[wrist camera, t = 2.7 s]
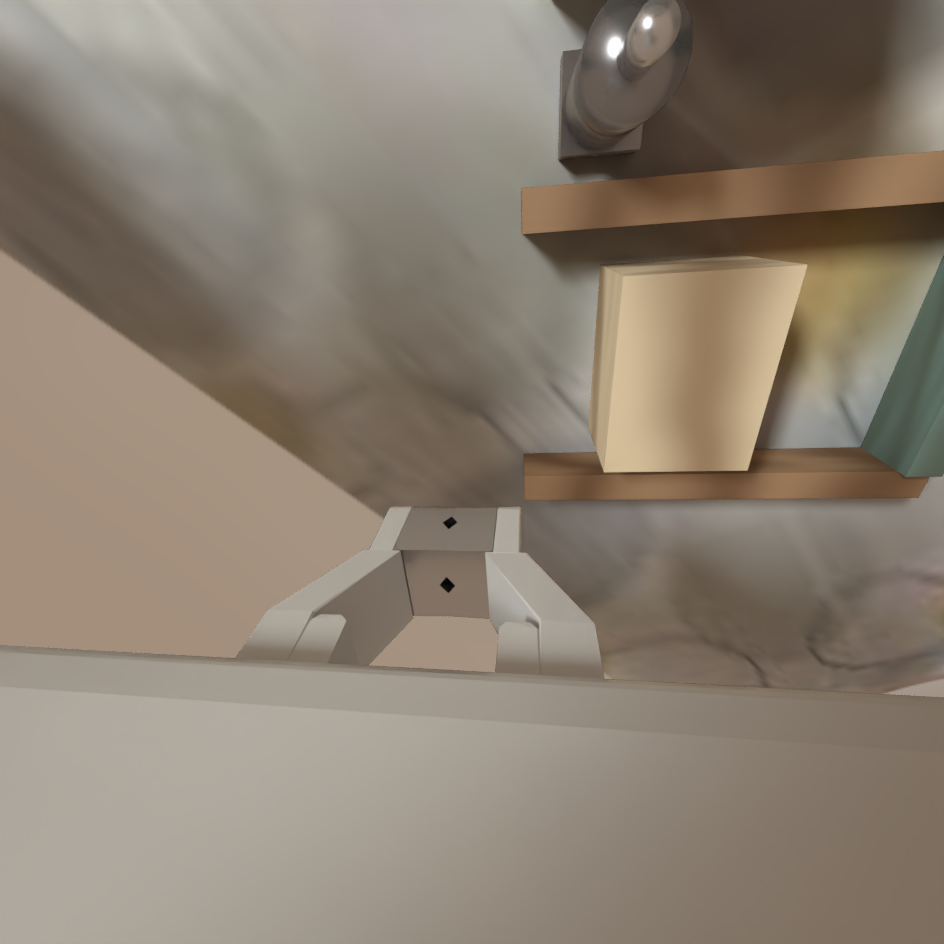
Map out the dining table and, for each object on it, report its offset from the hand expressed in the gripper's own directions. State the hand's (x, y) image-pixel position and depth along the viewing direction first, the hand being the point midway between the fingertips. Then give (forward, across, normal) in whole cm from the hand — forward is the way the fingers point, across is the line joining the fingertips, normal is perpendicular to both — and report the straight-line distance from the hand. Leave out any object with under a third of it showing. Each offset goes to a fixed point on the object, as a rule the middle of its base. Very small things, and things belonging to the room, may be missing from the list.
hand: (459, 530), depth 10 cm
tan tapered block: (+14, -8, 0) cm, 16 cm away
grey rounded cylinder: (+14, -4, -10) cm, 17 cm away
